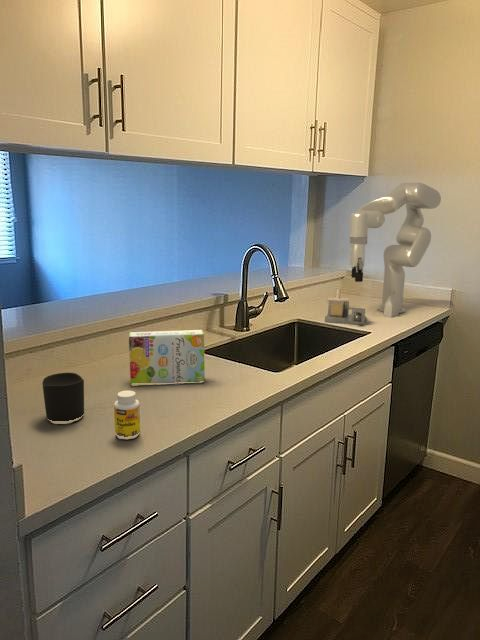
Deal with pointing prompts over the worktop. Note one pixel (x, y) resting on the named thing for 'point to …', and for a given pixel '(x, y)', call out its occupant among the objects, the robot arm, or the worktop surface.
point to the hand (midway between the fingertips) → (356, 279)
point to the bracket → (346, 315)
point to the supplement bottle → (127, 414)
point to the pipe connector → (338, 297)
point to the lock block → (337, 308)
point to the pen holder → (63, 396)
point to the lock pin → (358, 316)
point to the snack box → (166, 356)
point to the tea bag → (391, 306)
